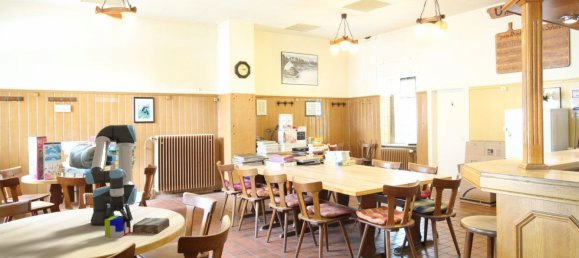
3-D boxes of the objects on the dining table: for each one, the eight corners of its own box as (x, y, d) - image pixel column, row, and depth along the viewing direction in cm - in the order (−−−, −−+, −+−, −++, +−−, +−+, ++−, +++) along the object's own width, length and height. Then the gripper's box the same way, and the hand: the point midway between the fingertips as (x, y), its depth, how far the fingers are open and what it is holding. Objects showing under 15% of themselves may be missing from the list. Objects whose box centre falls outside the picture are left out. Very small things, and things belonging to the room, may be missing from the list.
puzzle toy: (120, 237, 232) (120, 220, 231) (105, 236, 234) (104, 219, 233) (130, 232, 241) (130, 216, 241) (115, 231, 243) (115, 215, 243)
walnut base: (132, 232, 241) (132, 224, 240) (145, 225, 256) (145, 217, 256) (158, 233, 239) (158, 225, 238) (169, 225, 255) (169, 218, 254)
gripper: (95, 196, 234) (96, 233, 235) (132, 196, 231) (133, 234, 232) (102, 193, 241) (103, 230, 242) (138, 194, 239) (139, 230, 240)
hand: (118, 232), depth 237 cm, fingers closed on puzzle toy, 10 cm apart
